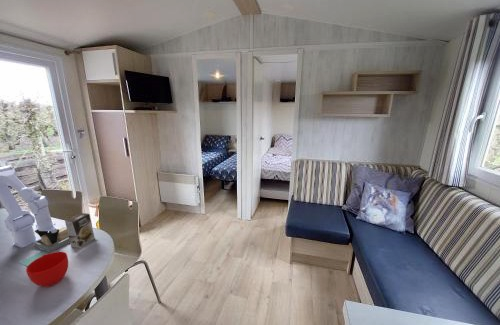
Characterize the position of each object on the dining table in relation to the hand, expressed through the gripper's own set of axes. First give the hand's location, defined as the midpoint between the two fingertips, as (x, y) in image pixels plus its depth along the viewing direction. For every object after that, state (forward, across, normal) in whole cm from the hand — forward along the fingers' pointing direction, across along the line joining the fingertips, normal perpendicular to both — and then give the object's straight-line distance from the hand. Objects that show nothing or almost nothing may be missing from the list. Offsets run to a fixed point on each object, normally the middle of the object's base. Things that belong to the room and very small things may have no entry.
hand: (50, 241), depth 116 cm
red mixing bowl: (+3, -28, +14) cm, 31 cm away
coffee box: (+3, -14, -8) cm, 16 cm away
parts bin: (+3, 0, -3) cm, 4 cm away
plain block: (+2, 0, -6) cm, 6 cm away
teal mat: (+3, -6, +10) cm, 12 cm away
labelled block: (+2, 0, 0) cm, 2 cm away
